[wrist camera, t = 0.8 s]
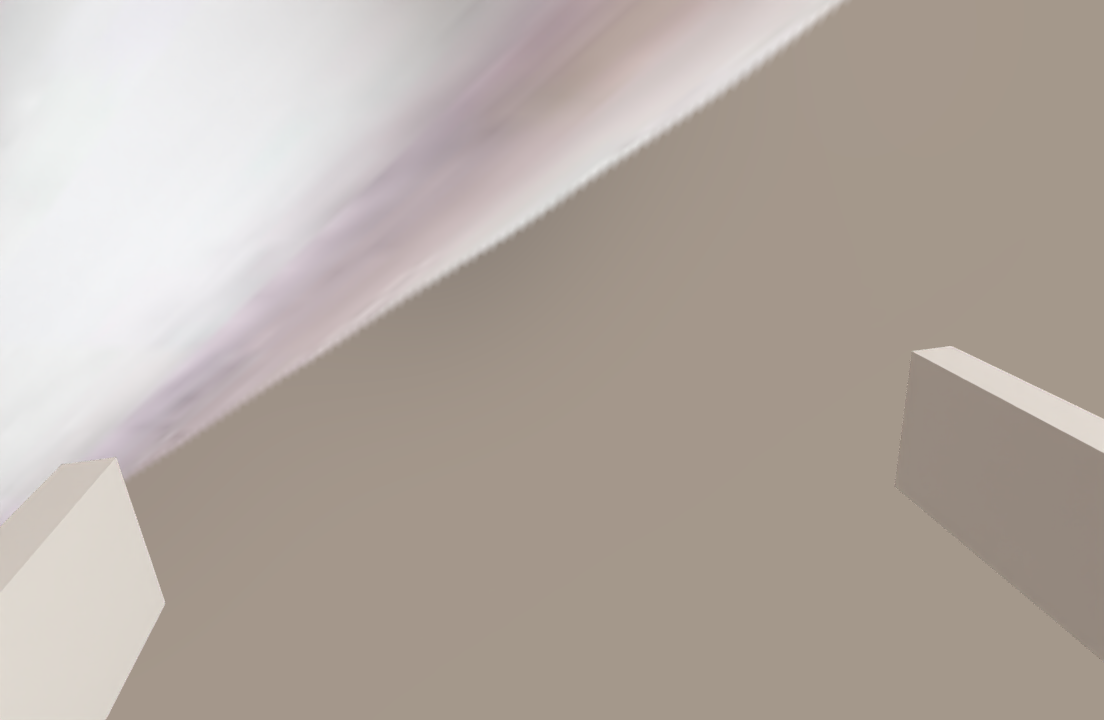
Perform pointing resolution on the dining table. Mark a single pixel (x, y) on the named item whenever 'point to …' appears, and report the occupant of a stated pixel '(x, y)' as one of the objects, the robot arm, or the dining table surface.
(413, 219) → the dining table surface
